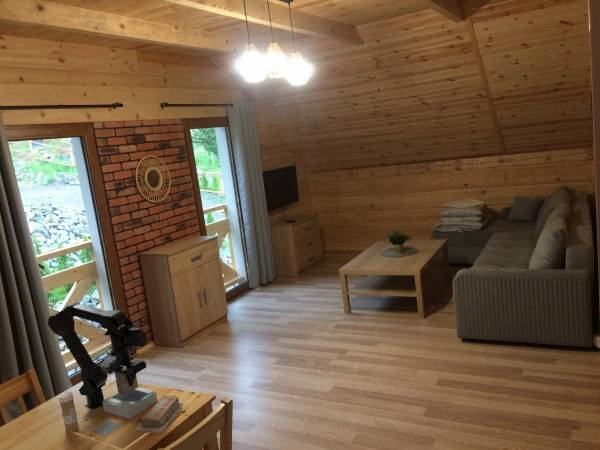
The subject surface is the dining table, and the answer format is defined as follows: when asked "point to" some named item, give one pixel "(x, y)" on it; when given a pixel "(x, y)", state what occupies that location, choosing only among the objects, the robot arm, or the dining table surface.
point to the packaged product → (160, 415)
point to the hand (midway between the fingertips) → (127, 385)
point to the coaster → (106, 428)
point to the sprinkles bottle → (68, 411)
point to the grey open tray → (130, 402)
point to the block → (124, 382)
